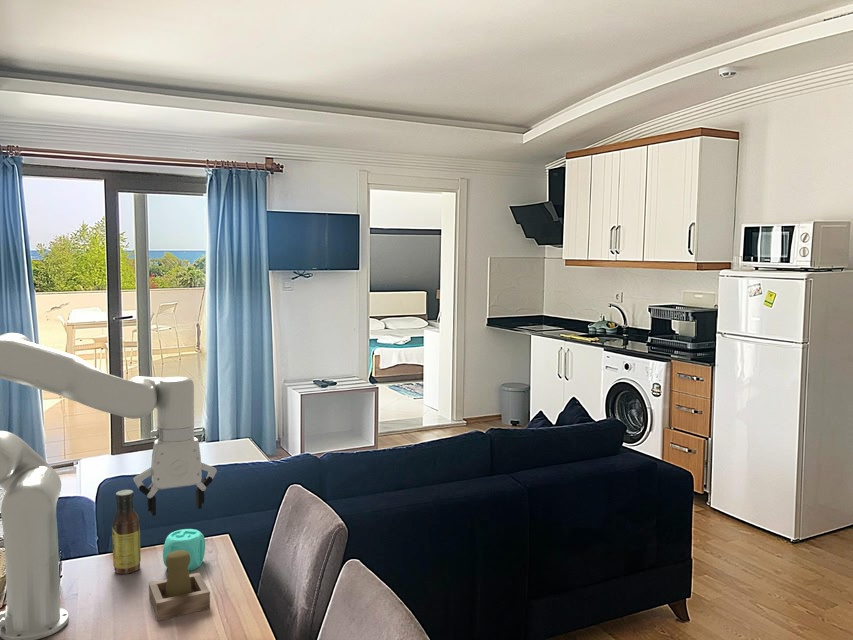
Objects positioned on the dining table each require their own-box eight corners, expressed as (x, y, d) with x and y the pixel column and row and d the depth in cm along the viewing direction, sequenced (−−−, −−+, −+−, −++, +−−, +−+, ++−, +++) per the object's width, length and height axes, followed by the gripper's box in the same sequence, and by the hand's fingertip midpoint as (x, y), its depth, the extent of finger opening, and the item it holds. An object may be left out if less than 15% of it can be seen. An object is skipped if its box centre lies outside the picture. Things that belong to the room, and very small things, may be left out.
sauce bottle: (121, 564, 175) (119, 486, 173) (145, 564, 175) (143, 487, 173) (108, 575, 168) (106, 495, 167) (133, 576, 168) (131, 496, 167)
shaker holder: (156, 620, 147) (156, 603, 147) (149, 599, 157) (148, 582, 156) (210, 608, 153) (209, 591, 152) (199, 588, 162) (199, 572, 162)
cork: (183, 608, 151) (182, 559, 150) (158, 605, 152) (157, 556, 151) (198, 595, 157) (197, 548, 156) (173, 592, 158) (173, 545, 157)
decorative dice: (195, 572, 170) (195, 540, 170) (162, 572, 170) (162, 540, 170) (205, 559, 178) (205, 528, 178) (174, 558, 178) (173, 528, 178)
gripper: (135, 441, 144) (136, 522, 145) (220, 433, 153) (220, 509, 154) (131, 434, 151) (131, 511, 152) (212, 426, 159) (212, 499, 160)
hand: (176, 510), depth 153 cm, fingers open, 9 cm apart
